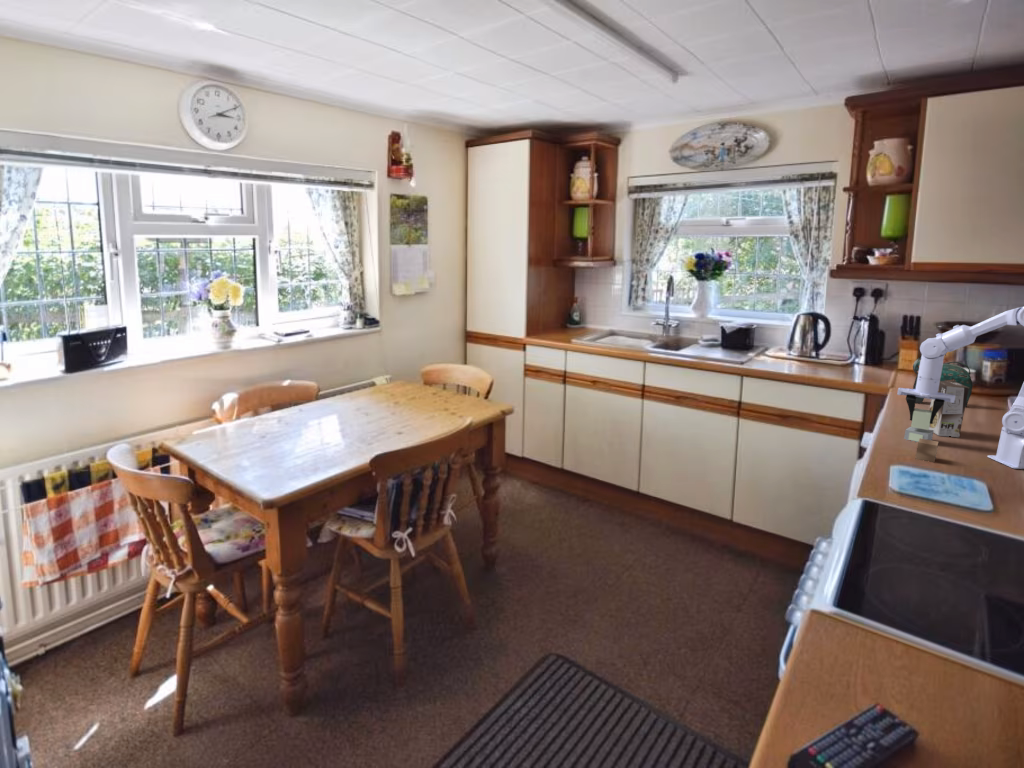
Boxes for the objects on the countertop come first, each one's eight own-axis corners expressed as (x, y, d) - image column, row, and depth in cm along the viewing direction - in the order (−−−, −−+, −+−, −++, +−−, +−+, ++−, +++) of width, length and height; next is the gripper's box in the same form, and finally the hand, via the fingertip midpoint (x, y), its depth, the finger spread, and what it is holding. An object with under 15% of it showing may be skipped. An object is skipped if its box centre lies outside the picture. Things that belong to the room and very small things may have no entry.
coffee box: (960, 437, 198) (970, 387, 195) (937, 436, 200) (946, 386, 196) (947, 429, 207) (956, 381, 203) (925, 427, 208) (934, 379, 205)
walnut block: (935, 458, 179) (938, 441, 178) (934, 462, 176) (937, 445, 174) (916, 455, 182) (919, 438, 181) (915, 459, 178) (918, 442, 177)
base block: (931, 441, 195) (933, 430, 194) (925, 445, 191) (927, 434, 190) (909, 436, 199) (911, 425, 199) (903, 440, 195) (905, 429, 194)
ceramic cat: (909, 403, 239) (918, 351, 234) (904, 399, 245) (913, 348, 240) (970, 408, 233) (981, 355, 229) (964, 404, 239) (974, 352, 235)
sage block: (929, 426, 194) (932, 410, 193) (928, 429, 191) (931, 413, 189) (912, 423, 197) (915, 408, 195) (910, 426, 193) (913, 411, 192)
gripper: (899, 376, 191) (891, 419, 194) (957, 383, 183) (948, 429, 186) (902, 372, 197) (894, 414, 200) (958, 379, 188) (950, 423, 191)
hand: (921, 421), depth 193 cm, fingers closed on sage block, 4 cm apart
